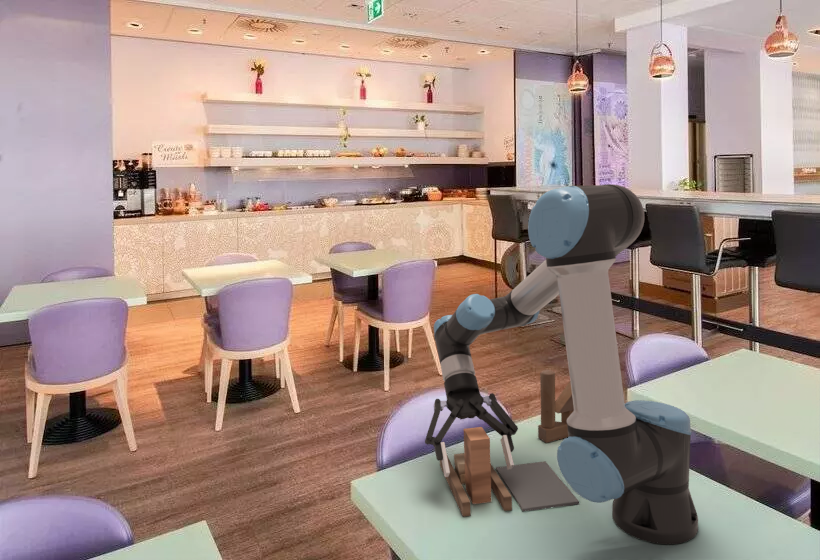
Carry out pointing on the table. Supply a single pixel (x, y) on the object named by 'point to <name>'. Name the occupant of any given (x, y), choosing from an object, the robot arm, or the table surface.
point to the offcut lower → (460, 477)
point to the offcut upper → (459, 463)
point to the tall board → (477, 465)
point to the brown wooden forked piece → (553, 408)
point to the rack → (463, 499)
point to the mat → (536, 486)
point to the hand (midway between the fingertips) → (479, 471)
